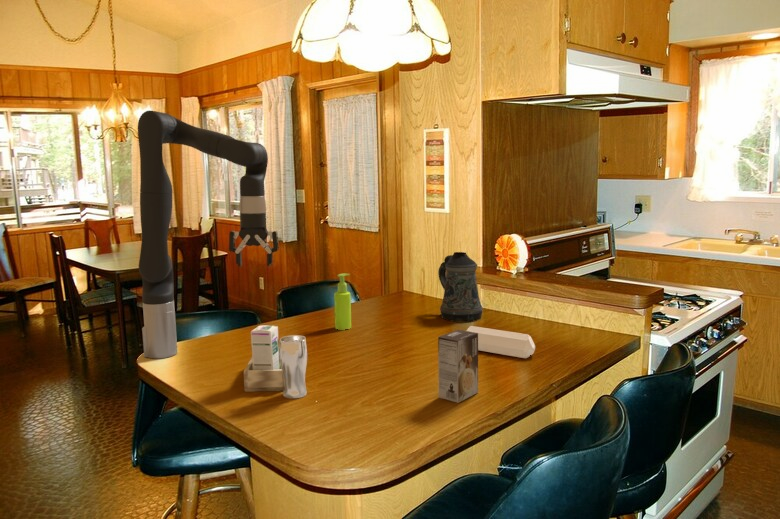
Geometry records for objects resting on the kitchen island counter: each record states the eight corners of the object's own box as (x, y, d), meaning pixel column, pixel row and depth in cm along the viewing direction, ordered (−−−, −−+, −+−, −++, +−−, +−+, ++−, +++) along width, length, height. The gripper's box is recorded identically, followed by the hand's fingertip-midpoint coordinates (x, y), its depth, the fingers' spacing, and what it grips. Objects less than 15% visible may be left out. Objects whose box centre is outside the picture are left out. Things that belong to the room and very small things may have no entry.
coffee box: (458, 387, 160) (458, 328, 158) (478, 393, 156) (479, 332, 153) (437, 397, 153) (437, 336, 151) (458, 403, 149) (458, 340, 147)
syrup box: (274, 383, 161) (271, 330, 159) (252, 382, 162) (250, 330, 160) (281, 376, 167) (278, 325, 165) (260, 375, 168) (258, 324, 165)
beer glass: (296, 401, 152) (294, 343, 149) (275, 396, 155) (273, 339, 153) (314, 392, 158) (312, 336, 155) (293, 387, 161) (291, 333, 159)
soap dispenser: (356, 326, 222) (355, 273, 219) (344, 331, 217) (343, 276, 214) (343, 324, 226) (342, 271, 223) (332, 328, 220) (330, 274, 217)
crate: (244, 391, 159) (243, 371, 158) (257, 366, 179) (256, 349, 178) (286, 390, 159) (285, 370, 158) (294, 365, 179) (294, 348, 178)
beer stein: (475, 323, 225) (475, 257, 221) (426, 318, 233) (426, 254, 229) (487, 313, 239) (488, 251, 236) (441, 309, 248) (441, 249, 244)
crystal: (541, 341, 188) (471, 330, 201) (534, 334, 183) (463, 324, 196) (536, 364, 186) (466, 352, 199) (529, 358, 180) (457, 346, 194)
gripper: (225, 212, 174) (227, 268, 176) (275, 212, 174) (276, 267, 176) (231, 210, 181) (233, 264, 183) (279, 210, 181) (280, 263, 184)
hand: (254, 265), depth 180 cm, fingers open, 8 cm apart
